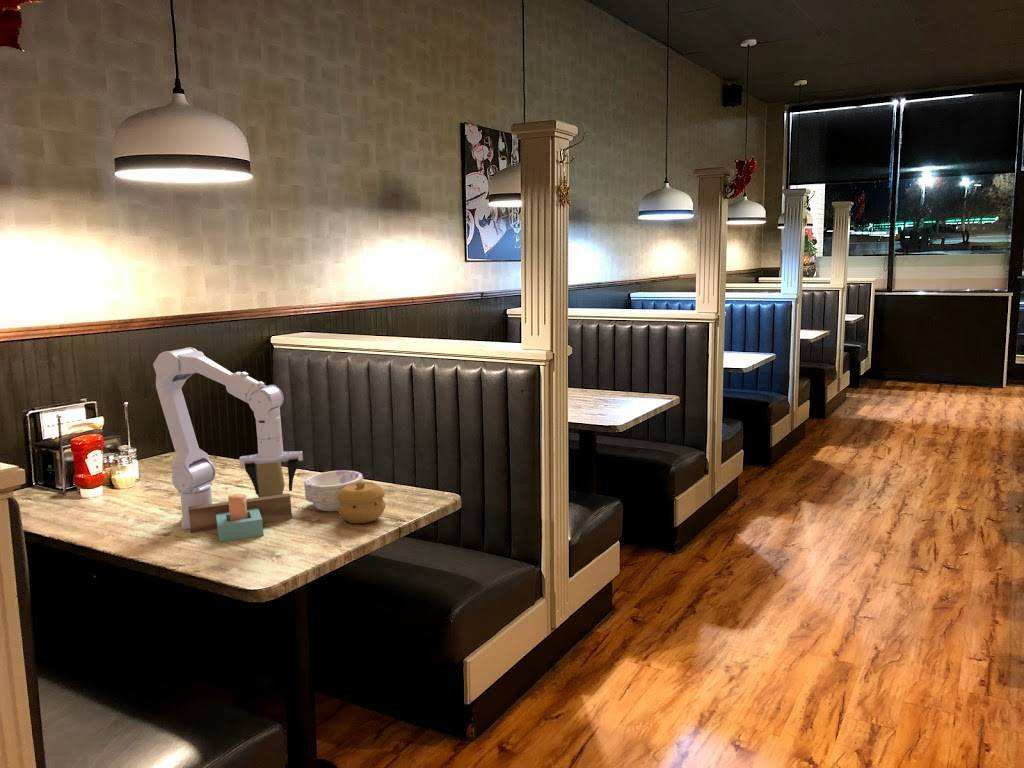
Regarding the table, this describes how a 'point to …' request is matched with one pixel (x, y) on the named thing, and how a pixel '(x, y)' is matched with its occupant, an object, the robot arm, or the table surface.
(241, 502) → the dowel
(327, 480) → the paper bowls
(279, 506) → the backstop wall
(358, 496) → the pot
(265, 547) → the table surface
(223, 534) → the sliding block
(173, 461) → the robot arm
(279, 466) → the squeeze bottle
